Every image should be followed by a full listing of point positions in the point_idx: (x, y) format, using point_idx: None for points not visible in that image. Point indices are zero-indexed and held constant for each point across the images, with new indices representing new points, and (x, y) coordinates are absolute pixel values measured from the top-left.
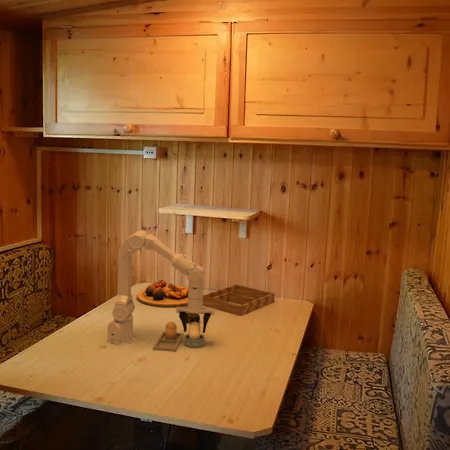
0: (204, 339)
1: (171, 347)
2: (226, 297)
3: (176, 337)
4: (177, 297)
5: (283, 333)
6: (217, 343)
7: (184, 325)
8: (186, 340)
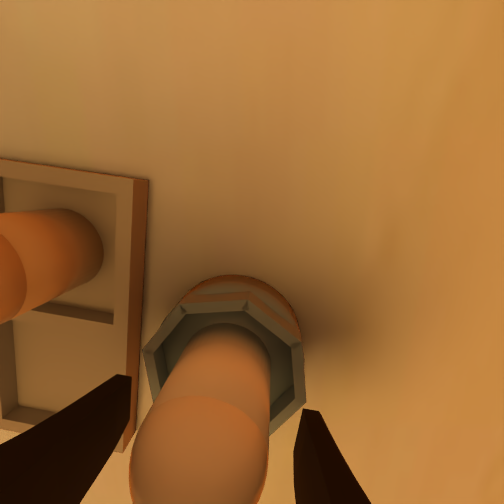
0: (305, 394)
1: (98, 383)
2: None
3: (95, 250)
4: None
5: None
6: (399, 296)
7: (70, 500)
8: None
